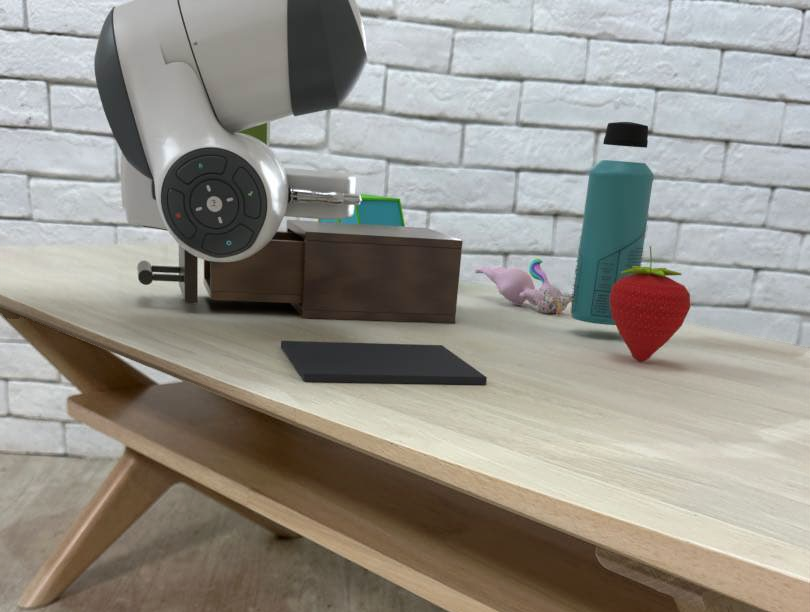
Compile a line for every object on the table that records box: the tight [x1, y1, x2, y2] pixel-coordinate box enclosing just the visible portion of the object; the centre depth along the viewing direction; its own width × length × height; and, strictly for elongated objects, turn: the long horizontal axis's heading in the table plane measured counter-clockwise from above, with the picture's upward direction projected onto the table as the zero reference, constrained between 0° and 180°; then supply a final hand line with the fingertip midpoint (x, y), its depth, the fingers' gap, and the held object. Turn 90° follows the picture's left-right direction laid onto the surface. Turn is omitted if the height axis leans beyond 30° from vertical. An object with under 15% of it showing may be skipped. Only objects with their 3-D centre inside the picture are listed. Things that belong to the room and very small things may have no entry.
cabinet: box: [285, 219, 464, 324], centre depth 103 cm, size 16×13×8 cm
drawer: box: [136, 230, 305, 304], centre depth 100 cm, size 19×11×6 cm, turn 105°
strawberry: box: [609, 245, 691, 362], centre depth 87 cm, size 6×8×10 cm
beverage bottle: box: [569, 121, 655, 326], centre depth 98 cm, size 6×7×20 cm
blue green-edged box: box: [317, 193, 406, 227], centre depth 124 cm, size 10×13×10 cm
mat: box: [280, 340, 488, 386], centre depth 79 cm, size 14×12×1 cm
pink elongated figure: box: [474, 258, 573, 317], centre depth 115 cm, size 6×6×15 cm
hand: (245, 183), depth 93 cm, fingers open, 8 cm apart
